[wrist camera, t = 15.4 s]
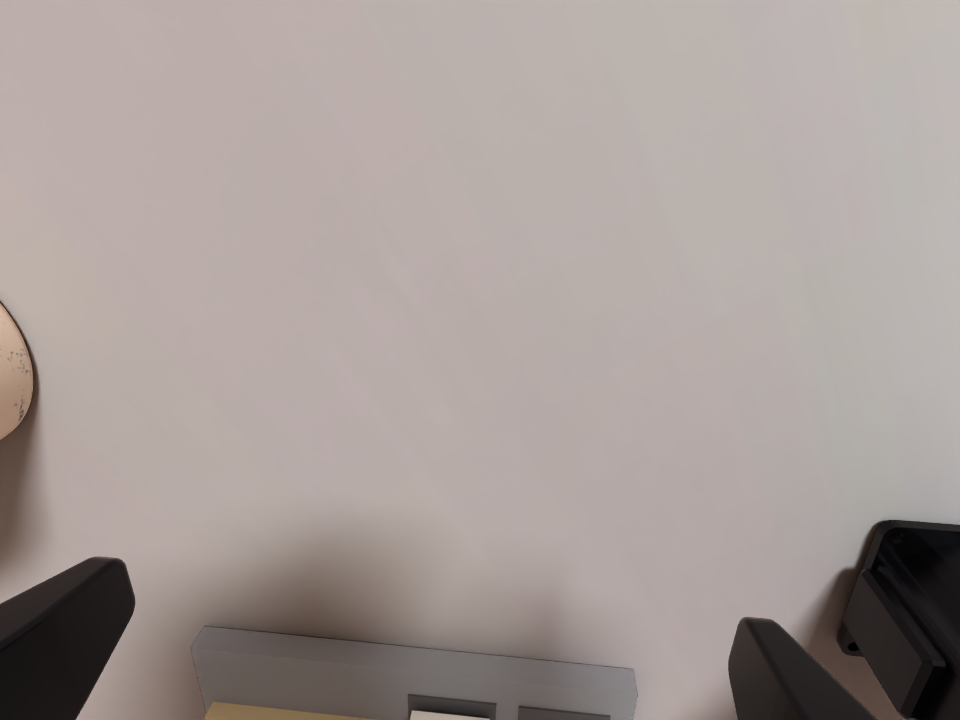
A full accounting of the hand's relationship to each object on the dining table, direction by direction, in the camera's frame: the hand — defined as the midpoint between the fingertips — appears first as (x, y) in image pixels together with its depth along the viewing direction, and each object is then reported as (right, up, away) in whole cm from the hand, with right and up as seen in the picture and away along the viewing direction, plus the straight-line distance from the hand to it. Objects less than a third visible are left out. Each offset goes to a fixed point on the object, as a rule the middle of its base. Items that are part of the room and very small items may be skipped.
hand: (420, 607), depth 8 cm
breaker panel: (-2, -16, +21) cm, 26 cm away
